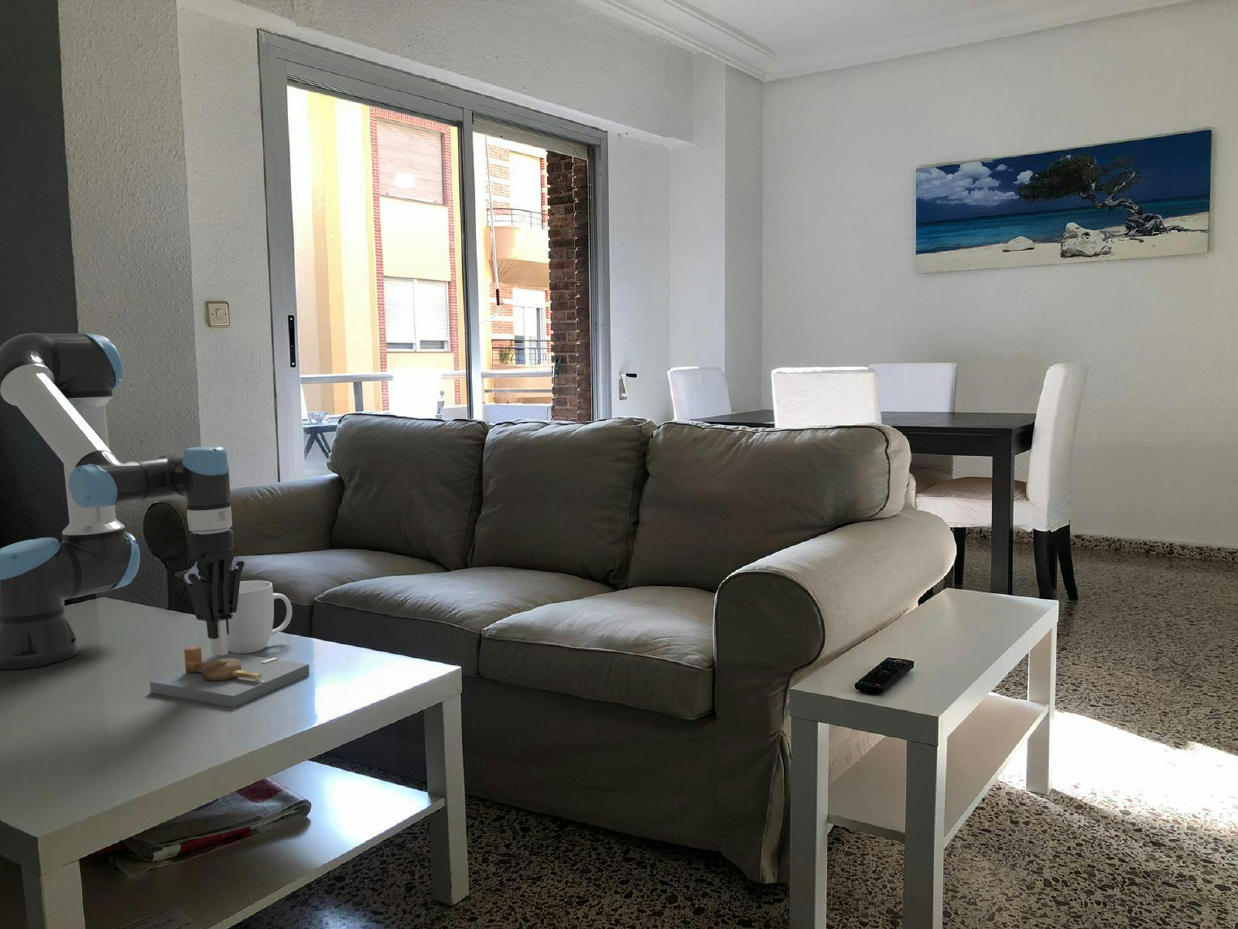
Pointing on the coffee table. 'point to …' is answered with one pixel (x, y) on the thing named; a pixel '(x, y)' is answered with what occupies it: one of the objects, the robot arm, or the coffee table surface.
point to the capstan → (216, 667)
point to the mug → (254, 617)
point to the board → (231, 681)
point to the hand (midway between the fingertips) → (219, 653)
